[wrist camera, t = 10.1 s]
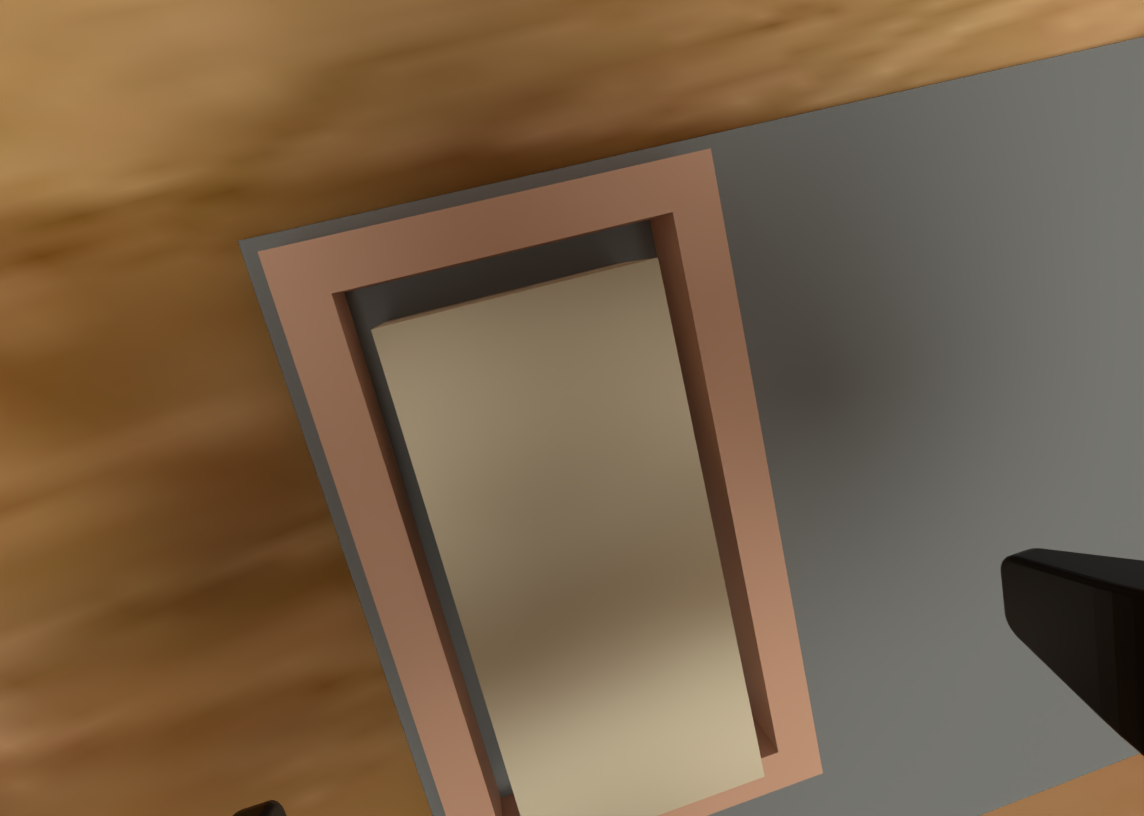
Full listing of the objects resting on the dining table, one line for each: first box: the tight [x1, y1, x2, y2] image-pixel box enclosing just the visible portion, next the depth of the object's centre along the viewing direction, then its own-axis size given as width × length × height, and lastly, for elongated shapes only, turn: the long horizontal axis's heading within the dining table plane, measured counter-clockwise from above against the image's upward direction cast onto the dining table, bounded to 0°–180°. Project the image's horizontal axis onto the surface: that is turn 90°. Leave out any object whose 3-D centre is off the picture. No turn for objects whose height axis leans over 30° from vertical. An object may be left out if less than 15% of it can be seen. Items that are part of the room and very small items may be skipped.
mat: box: [238, 37, 1144, 816], centre depth 15 cm, size 18×22×1 cm
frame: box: [258, 148, 823, 816], centre depth 13 cm, size 13×8×1 cm, turn 14°
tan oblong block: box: [371, 258, 765, 816], centre depth 13 cm, size 10×5×3 cm, turn 14°
